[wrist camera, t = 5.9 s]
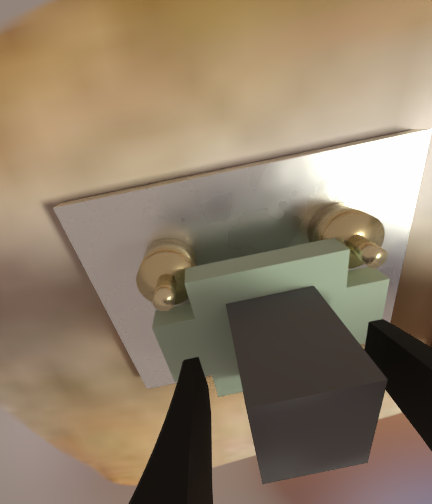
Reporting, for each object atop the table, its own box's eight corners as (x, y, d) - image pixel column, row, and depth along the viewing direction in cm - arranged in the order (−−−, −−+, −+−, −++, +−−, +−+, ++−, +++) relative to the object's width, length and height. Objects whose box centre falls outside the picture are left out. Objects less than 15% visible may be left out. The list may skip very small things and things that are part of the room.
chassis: (413, 129, 12) (524, 129, 8) (377, 329, 19) (428, 384, 15) (62, 202, 12) (-1, 238, 8) (149, 376, 19) (137, 444, 15)
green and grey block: (377, 228, 11) (535, 313, 6) (360, 347, 15) (448, 462, 10) (142, 277, 11) (100, 403, 6) (184, 383, 15) (181, 517, 10)
